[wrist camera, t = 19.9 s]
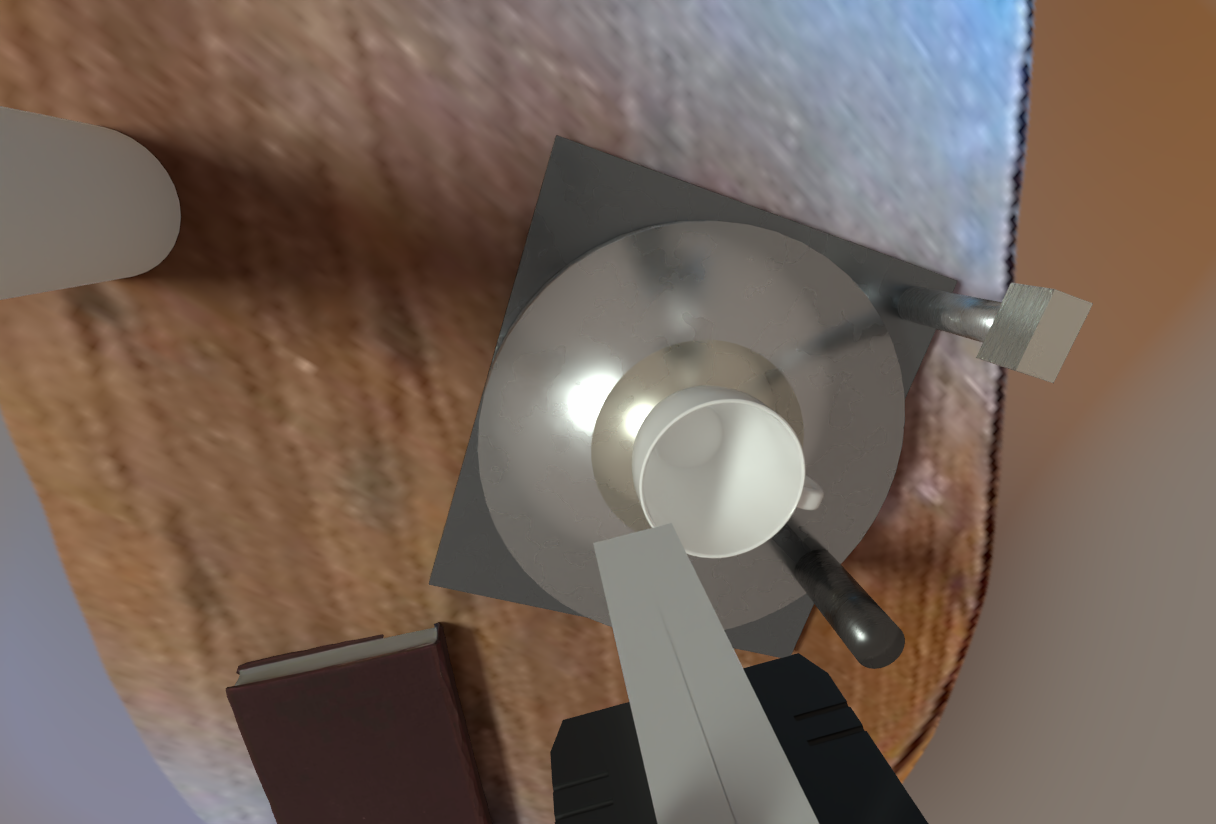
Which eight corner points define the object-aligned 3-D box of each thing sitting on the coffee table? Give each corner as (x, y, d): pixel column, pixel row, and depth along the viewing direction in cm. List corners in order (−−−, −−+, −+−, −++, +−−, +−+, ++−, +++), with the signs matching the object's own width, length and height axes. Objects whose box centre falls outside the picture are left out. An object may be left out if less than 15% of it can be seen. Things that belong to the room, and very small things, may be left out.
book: (446, 615, 42) (440, 647, 39) (503, 846, 48) (502, 890, 45) (240, 655, 41) (218, 691, 38) (325, 886, 47) (311, 934, 44)
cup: (646, 346, 35) (676, 377, 28) (813, 401, 37) (876, 441, 31) (597, 479, 37) (615, 536, 30) (759, 524, 39) (808, 586, 32)
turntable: (386, 437, 37) (344, 511, 28) (715, 118, 34) (787, 85, 25) (673, 685, 44) (715, 809, 35) (962, 437, 41) (1087, 501, 32)
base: (555, 137, 34) (574, 103, 23) (946, 279, 39) (1113, 306, 28) (430, 575, 41) (399, 711, 30) (783, 650, 46) (869, 790, 35)
